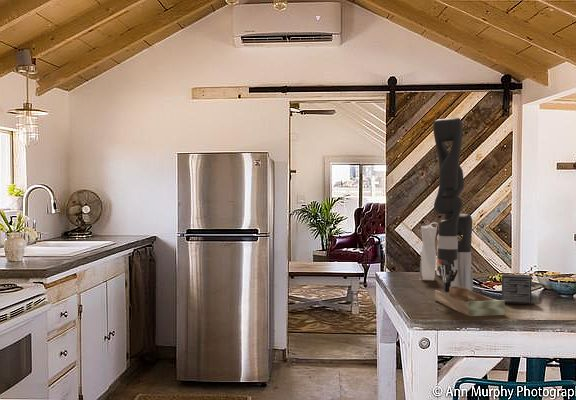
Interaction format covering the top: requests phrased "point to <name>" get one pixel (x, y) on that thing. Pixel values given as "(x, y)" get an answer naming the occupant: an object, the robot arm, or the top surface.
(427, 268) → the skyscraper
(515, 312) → the top surface
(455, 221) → the robot arm
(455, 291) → the walnut block
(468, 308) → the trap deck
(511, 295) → the small box
